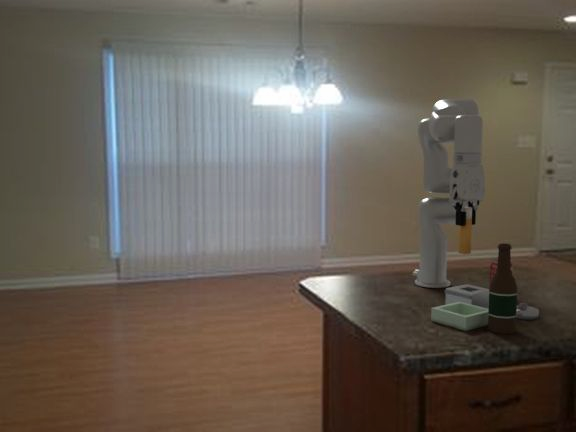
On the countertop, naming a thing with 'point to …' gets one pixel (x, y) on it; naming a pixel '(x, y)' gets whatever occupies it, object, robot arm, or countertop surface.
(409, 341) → the countertop surface
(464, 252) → the pin
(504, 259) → the beer bottle
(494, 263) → the soda can
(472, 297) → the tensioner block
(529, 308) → the metal pot lid
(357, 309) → the countertop surface
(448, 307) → the tray
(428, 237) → the robot arm
